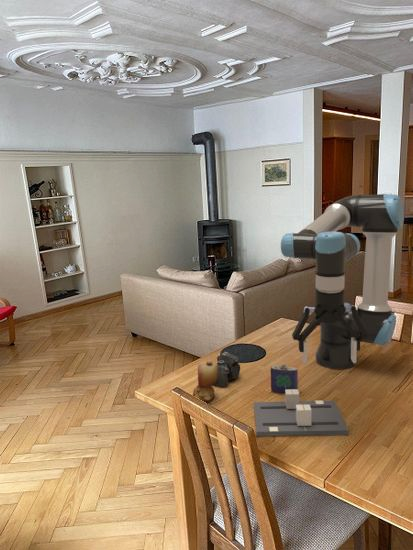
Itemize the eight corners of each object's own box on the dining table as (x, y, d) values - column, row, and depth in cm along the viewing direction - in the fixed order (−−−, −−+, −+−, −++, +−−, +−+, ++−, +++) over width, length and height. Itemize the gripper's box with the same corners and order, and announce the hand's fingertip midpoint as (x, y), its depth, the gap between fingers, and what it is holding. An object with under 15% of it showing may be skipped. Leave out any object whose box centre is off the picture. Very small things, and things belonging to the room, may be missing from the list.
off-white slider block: (297, 403, 131) (297, 389, 130) (299, 408, 128) (299, 393, 127) (285, 403, 131) (285, 389, 130) (286, 408, 128) (286, 394, 127)
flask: (298, 390, 142) (297, 362, 140) (297, 395, 140) (297, 366, 137) (271, 388, 145) (270, 360, 142) (270, 392, 142) (269, 364, 140)
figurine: (190, 391, 146) (198, 353, 143) (211, 394, 147) (219, 356, 144) (192, 406, 136) (200, 365, 133) (214, 409, 137) (222, 368, 134)
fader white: (309, 419, 122) (309, 404, 121) (311, 425, 119) (311, 409, 118) (295, 419, 122) (295, 404, 121) (297, 425, 119) (297, 410, 118)
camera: (237, 388, 146) (236, 363, 144) (210, 387, 148) (208, 361, 146) (242, 371, 159) (241, 347, 157) (217, 370, 161) (215, 346, 159)
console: (334, 404, 133) (334, 400, 132) (348, 434, 117) (348, 429, 117) (253, 406, 134) (253, 401, 134) (256, 436, 119) (256, 431, 118)
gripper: (372, 284, 114) (369, 354, 119) (281, 287, 116) (283, 356, 121) (381, 291, 107) (378, 366, 112) (285, 294, 109) (286, 368, 114)
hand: (328, 361), depth 116 cm, fingers open, 13 cm apart
